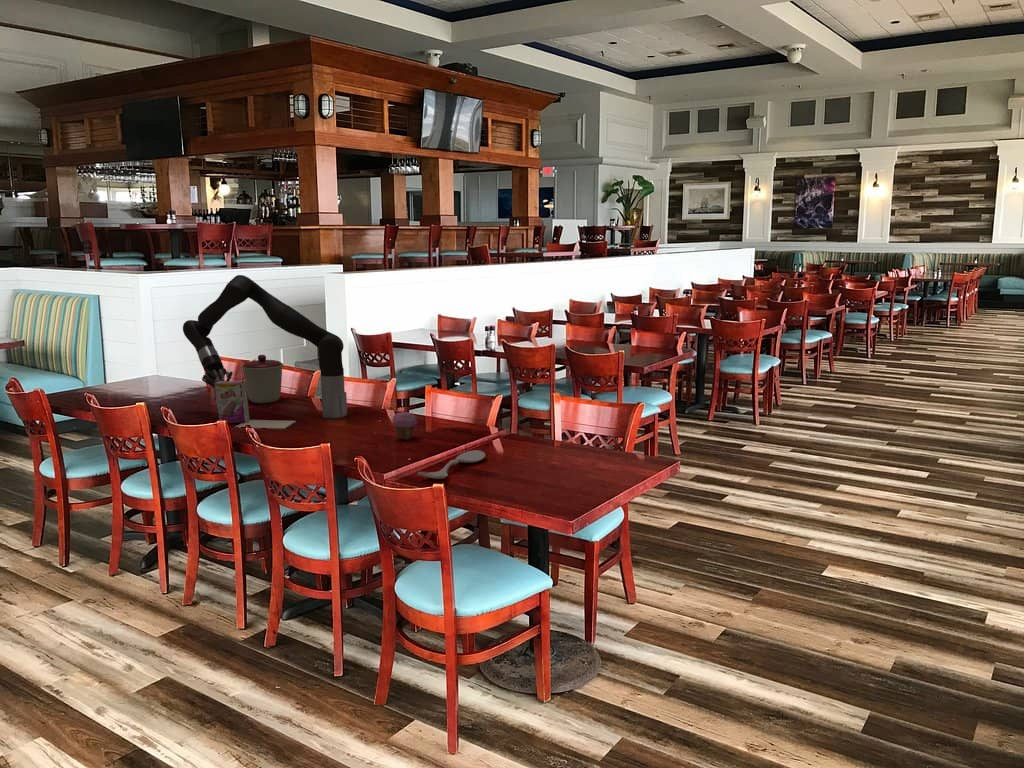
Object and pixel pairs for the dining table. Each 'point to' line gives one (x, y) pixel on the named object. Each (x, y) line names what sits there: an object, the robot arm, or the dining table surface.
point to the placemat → (267, 424)
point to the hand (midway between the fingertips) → (225, 393)
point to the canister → (263, 379)
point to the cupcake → (404, 425)
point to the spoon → (464, 457)
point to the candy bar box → (232, 401)
